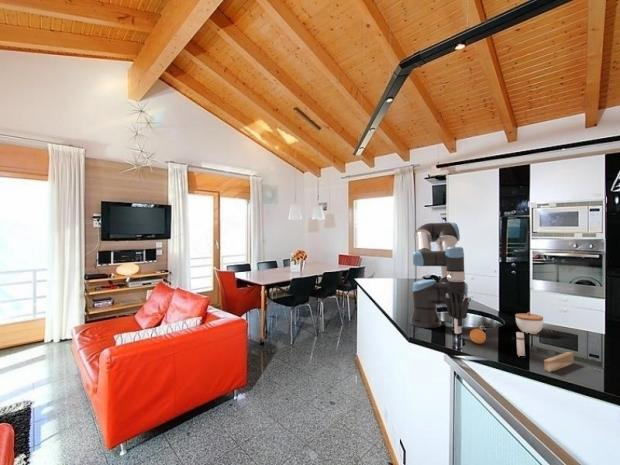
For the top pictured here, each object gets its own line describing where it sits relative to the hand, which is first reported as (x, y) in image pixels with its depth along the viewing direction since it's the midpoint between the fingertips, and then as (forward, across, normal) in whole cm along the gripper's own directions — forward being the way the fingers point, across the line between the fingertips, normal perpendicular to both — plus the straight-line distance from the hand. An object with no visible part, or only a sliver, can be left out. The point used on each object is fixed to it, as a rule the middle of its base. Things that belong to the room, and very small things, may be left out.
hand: (458, 332), depth 136 cm
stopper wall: (+2, +38, 0) cm, 39 cm away
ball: (-1, +9, 0) cm, 9 cm away
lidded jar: (+2, +12, +35) cm, 37 cm away
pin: (+2, +26, 0) cm, 26 cm away
